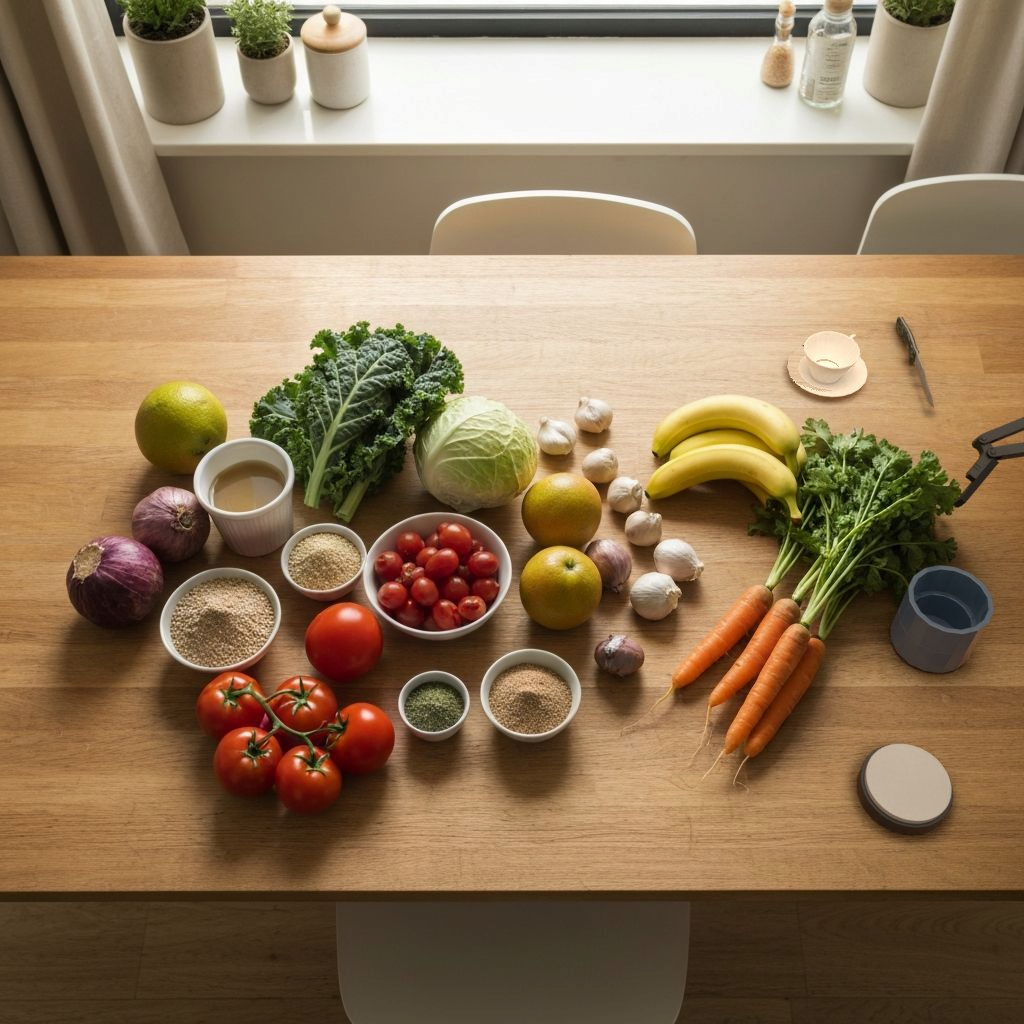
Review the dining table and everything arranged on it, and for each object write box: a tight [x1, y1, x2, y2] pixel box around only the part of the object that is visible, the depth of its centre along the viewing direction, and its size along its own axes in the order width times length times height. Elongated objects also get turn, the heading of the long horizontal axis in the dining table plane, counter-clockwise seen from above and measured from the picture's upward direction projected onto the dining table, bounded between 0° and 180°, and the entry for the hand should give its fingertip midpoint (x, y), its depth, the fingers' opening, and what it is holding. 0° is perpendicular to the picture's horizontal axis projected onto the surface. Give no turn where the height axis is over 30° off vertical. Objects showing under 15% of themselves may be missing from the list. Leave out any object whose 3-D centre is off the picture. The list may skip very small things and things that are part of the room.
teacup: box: [790, 330, 868, 398], centre depth 162 cm, size 12×12×5 cm
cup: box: [889, 564, 995, 674], centre depth 130 cm, size 10×10×10 cm
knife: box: [895, 316, 935, 409], centre depth 163 cm, size 20×1×3 cm, turn 1°
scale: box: [856, 743, 954, 836], centre depth 121 cm, size 10×10×3 cm
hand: (1006, 540), depth 127 cm, fingers open, 13 cm apart
